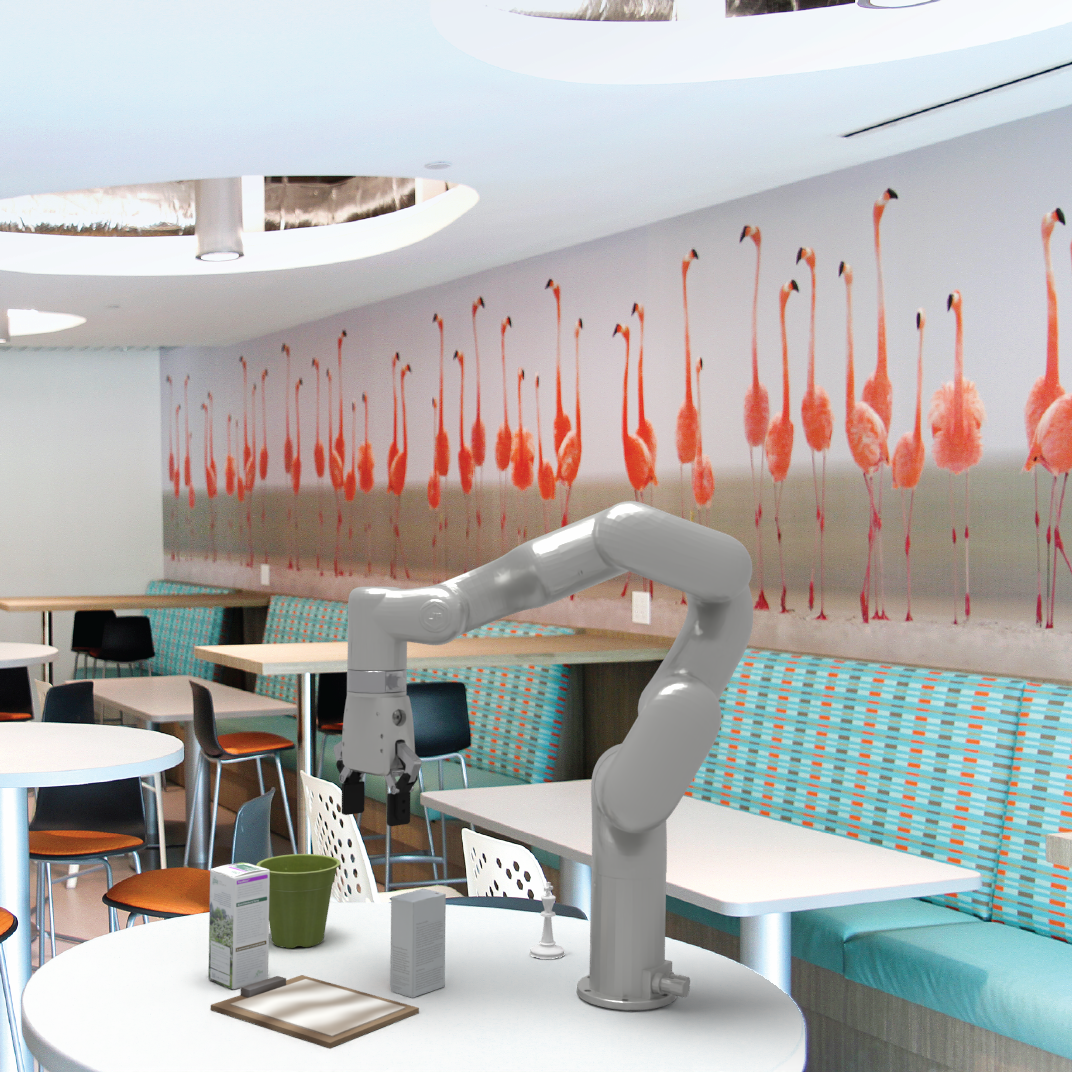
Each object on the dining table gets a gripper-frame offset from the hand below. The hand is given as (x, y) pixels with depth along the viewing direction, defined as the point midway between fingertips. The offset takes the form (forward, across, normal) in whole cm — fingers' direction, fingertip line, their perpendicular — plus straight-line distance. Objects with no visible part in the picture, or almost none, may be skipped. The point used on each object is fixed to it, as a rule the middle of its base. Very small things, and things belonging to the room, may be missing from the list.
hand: (375, 819), depth 164 cm
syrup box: (+22, +14, +11) cm, 28 cm away
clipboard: (+22, -2, +10) cm, 24 cm away
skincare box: (+22, -3, -5) cm, 23 cm away
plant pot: (+22, +25, -4) cm, 33 cm away
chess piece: (+22, -2, -28) cm, 36 cm away
